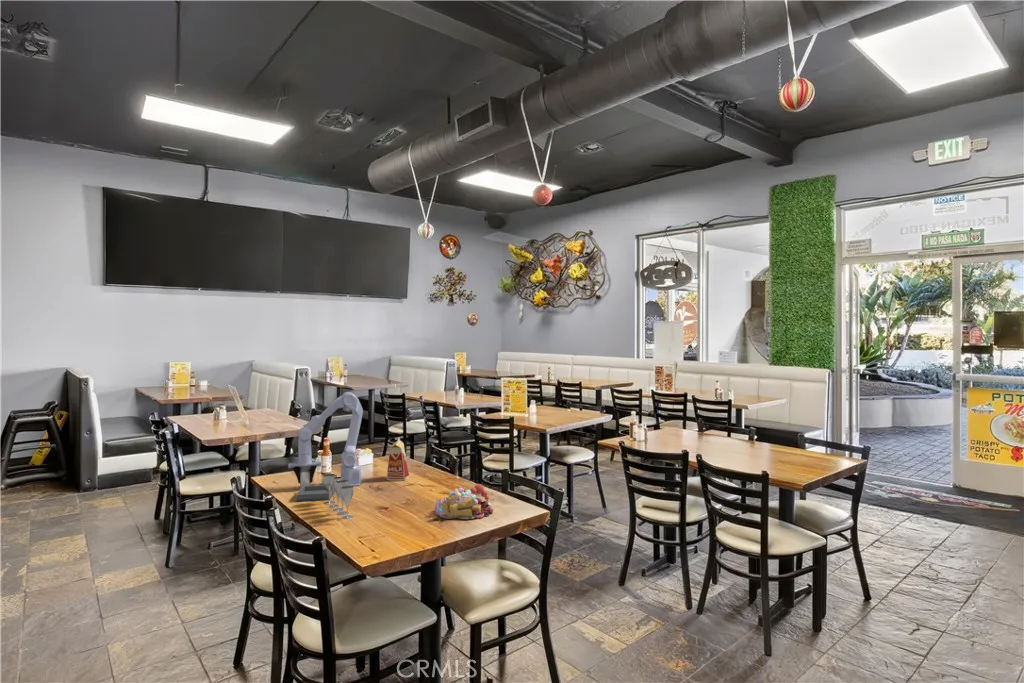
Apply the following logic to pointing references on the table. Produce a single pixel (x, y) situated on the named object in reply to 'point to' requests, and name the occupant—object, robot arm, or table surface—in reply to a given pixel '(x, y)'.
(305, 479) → the cylinder
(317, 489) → the tray
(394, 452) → the milk carton
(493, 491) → the table surface
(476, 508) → the candy landscape model
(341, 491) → the goblet set
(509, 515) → the table surface
